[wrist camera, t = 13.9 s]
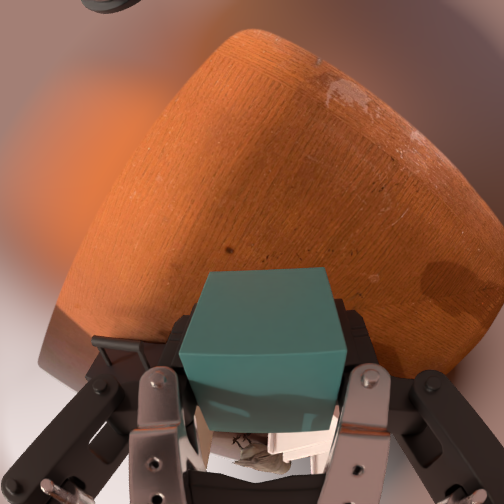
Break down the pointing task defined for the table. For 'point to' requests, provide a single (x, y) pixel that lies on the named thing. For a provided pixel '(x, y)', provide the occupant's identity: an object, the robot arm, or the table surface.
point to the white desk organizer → (305, 445)
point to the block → (265, 351)
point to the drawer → (124, 358)
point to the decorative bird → (261, 458)
